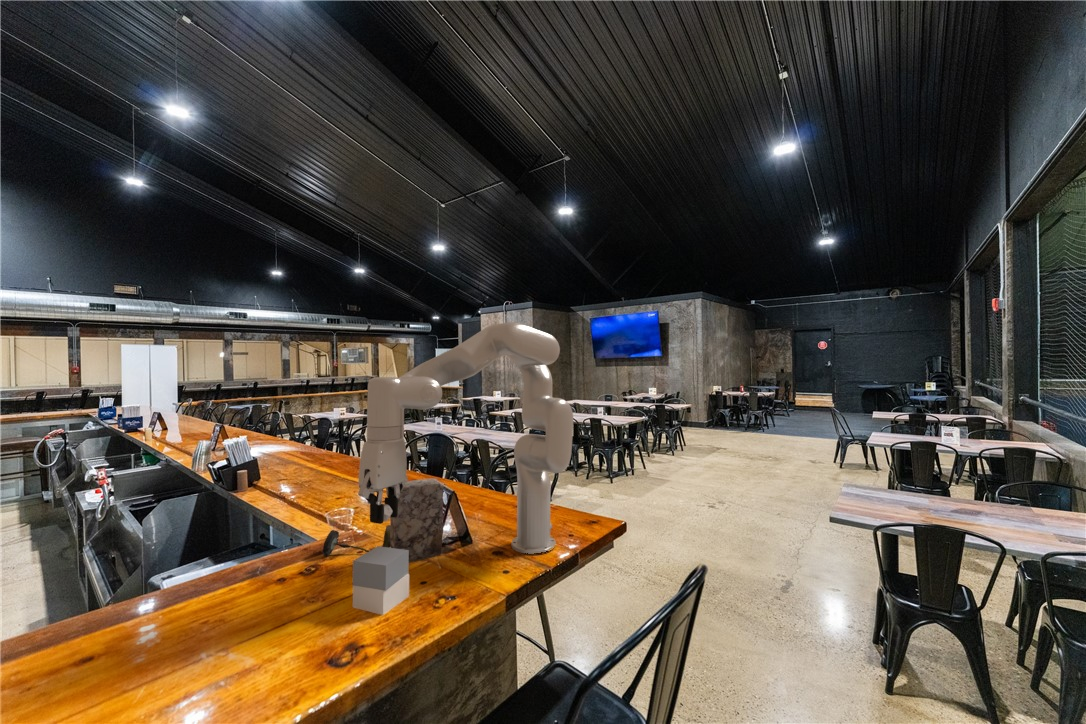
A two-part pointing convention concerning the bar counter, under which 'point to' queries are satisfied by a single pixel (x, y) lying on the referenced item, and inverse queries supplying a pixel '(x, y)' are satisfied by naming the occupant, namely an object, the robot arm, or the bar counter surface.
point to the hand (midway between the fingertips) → (383, 518)
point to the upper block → (380, 568)
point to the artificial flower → (333, 541)
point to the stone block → (419, 519)
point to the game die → (387, 512)
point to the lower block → (381, 597)
